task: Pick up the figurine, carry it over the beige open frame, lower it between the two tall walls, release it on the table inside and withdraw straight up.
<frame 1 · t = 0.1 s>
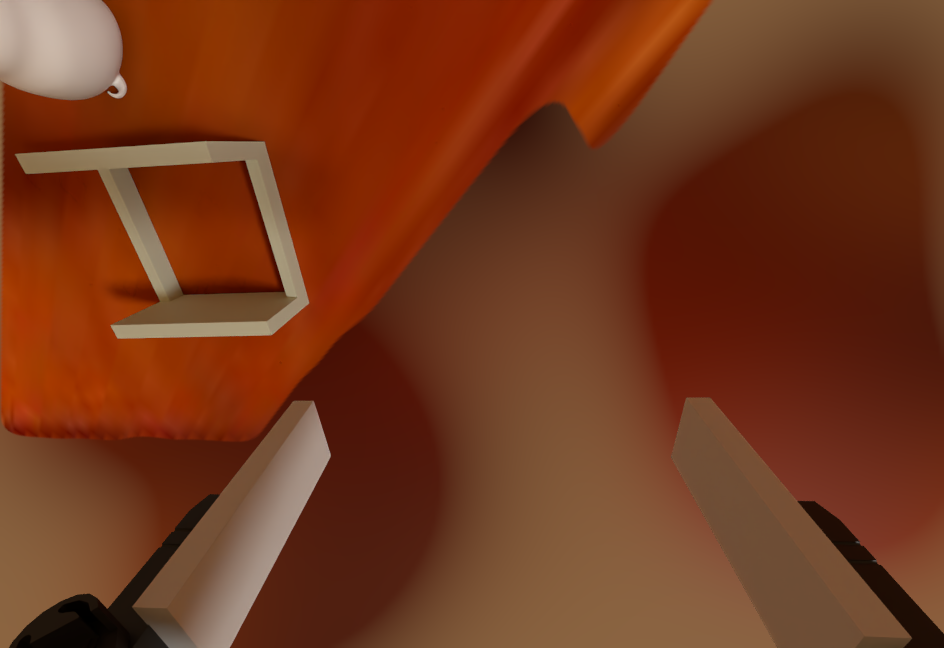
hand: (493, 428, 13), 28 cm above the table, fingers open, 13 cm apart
figurine: (97, 45, 33), on the table
beige open frame: (217, 233, 40), on the table
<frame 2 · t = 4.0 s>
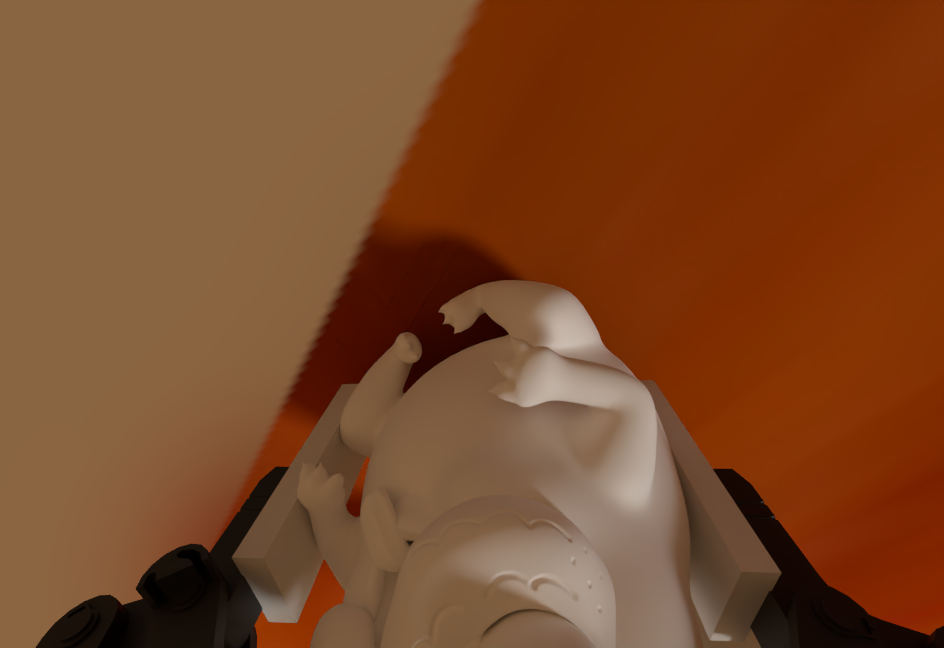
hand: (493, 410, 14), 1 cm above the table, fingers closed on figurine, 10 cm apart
figurine: (505, 384, 15), on the table, touching gripper
beige open frame: (586, 612, 22), on the table
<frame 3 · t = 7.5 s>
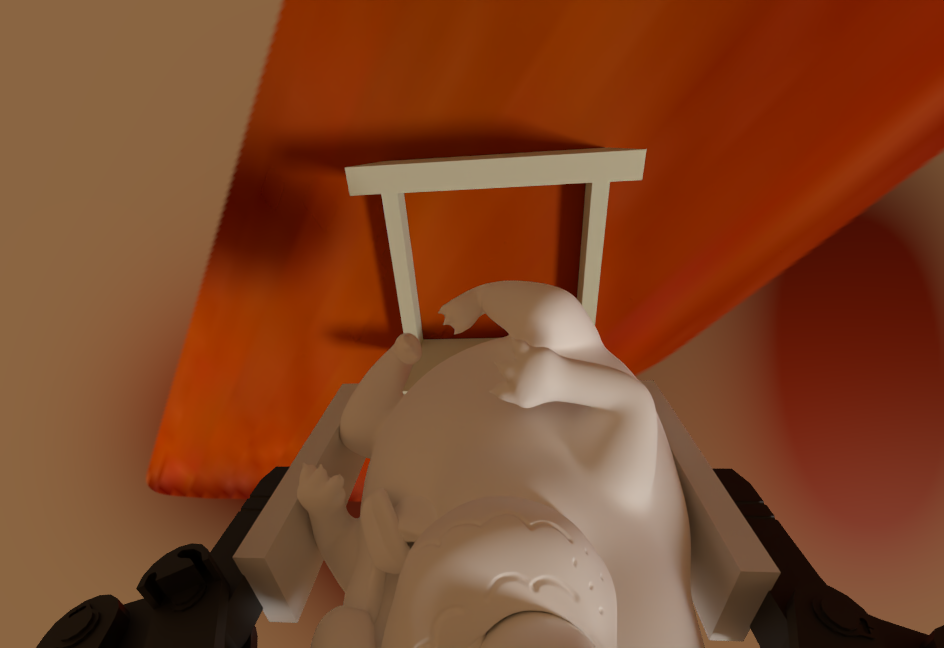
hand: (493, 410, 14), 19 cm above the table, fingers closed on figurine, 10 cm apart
figurine: (505, 385, 15), point 17 cm above the table, touching gripper
beige open frame: (495, 265, 31), on the table
when the fingers open (4 cm above the table, at t = 10.6 s): figurine drops 2 cm, resting in beige open frame.
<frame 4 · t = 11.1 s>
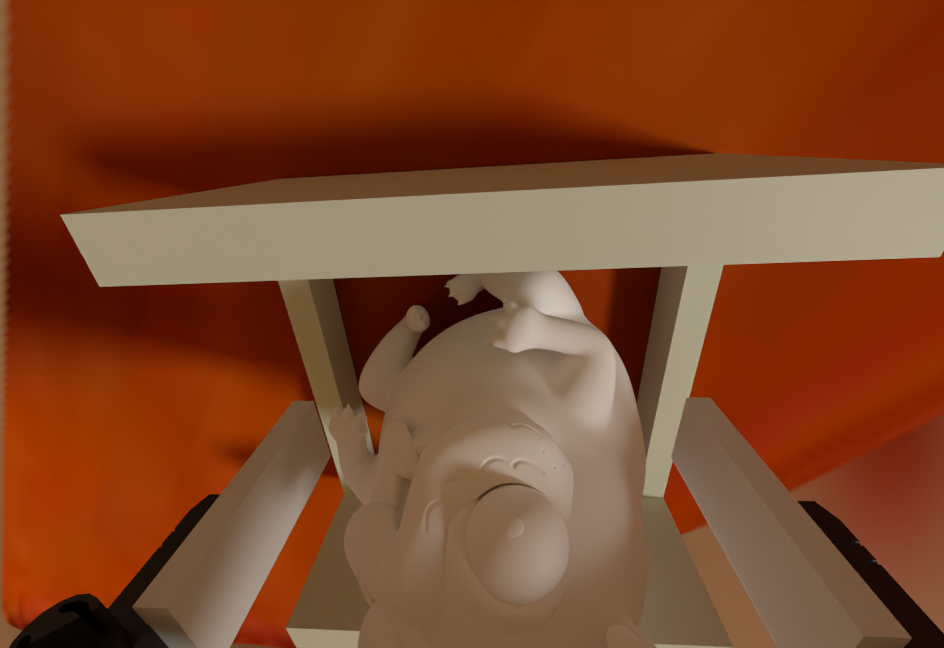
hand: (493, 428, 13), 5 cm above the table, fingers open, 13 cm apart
figurine: (502, 356, 17), resting in beige open frame
beige open frame: (494, 359, 17), on the table
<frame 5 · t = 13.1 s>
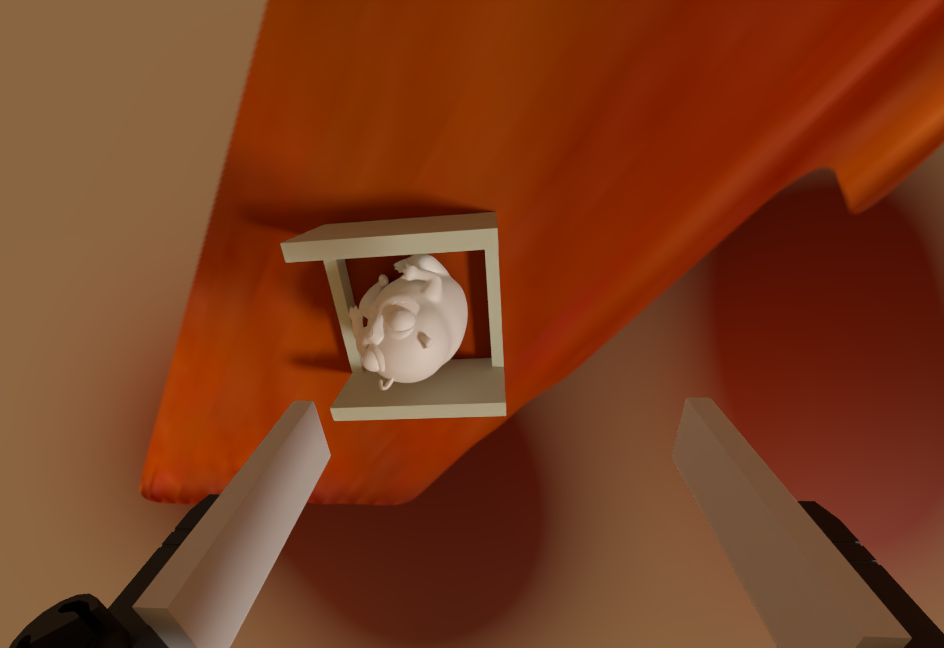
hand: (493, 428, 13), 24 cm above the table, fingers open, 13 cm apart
figurine: (425, 300, 38), resting in beige open frame
beige open frame: (421, 302, 38), on the table
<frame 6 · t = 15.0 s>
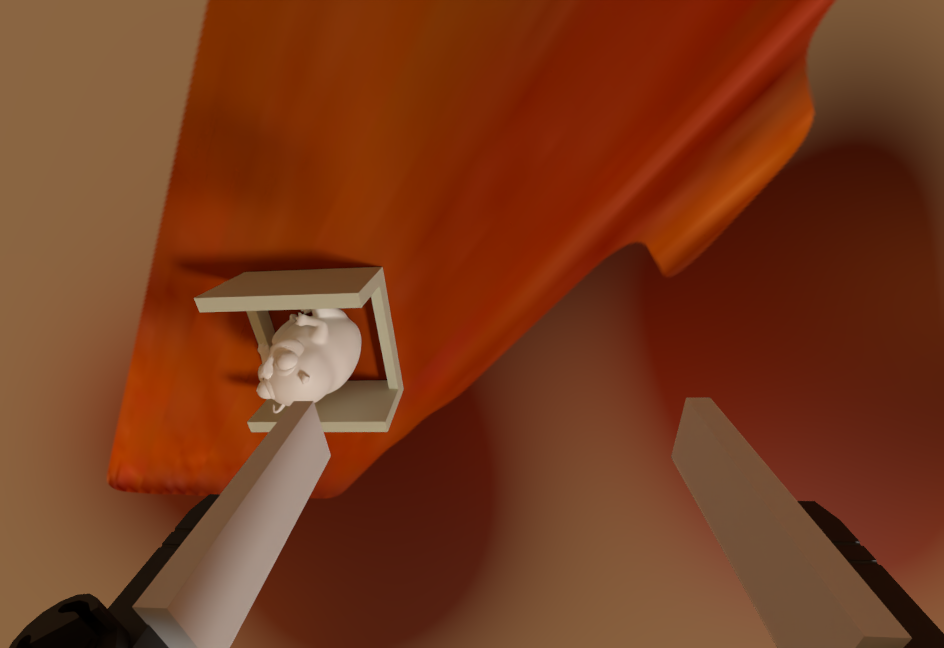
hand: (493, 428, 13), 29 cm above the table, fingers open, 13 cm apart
figurine: (333, 333, 45), resting in beige open frame
beige open frame: (329, 334, 45), on the table
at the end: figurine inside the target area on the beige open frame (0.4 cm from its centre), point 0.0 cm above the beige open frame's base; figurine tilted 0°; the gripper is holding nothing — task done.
